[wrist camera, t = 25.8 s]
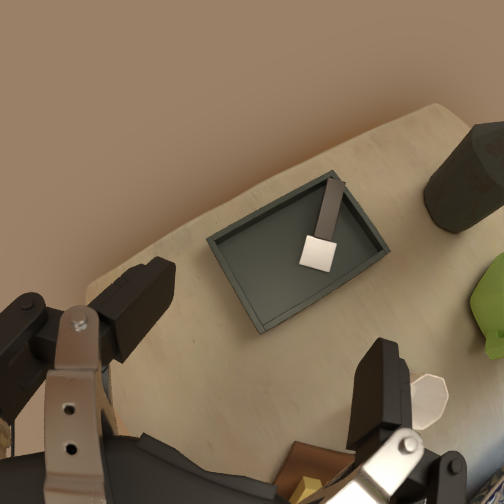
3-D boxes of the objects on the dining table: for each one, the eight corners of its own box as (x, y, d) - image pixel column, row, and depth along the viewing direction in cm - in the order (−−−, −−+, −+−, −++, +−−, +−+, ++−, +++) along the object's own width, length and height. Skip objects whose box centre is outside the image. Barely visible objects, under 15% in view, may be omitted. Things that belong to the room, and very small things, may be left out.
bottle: (459, 247, 37) (601, 150, 8) (414, 208, 39) (535, 69, 10) (475, 201, 38) (585, 100, 10) (434, 166, 41) (526, 38, 12)
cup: (417, 410, 31) (446, 423, 23) (352, 422, 32) (370, 443, 24) (419, 363, 33) (450, 367, 25) (353, 373, 33) (373, 383, 26)
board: (318, 542, 26) (319, 546, 24) (245, 528, 27) (244, 532, 26) (373, 458, 30) (376, 461, 29) (294, 440, 32) (295, 443, 30)
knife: (328, 272, 37) (349, 186, 37) (329, 272, 36) (351, 183, 36) (298, 264, 38) (321, 178, 38) (299, 264, 36) (322, 175, 36)
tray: (260, 334, 36) (260, 334, 33) (209, 244, 39) (205, 238, 37) (384, 256, 37) (391, 251, 35) (329, 178, 41) (332, 169, 38)
